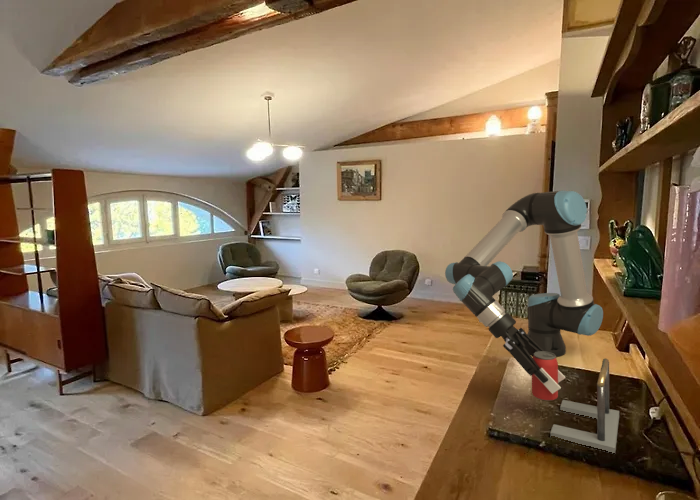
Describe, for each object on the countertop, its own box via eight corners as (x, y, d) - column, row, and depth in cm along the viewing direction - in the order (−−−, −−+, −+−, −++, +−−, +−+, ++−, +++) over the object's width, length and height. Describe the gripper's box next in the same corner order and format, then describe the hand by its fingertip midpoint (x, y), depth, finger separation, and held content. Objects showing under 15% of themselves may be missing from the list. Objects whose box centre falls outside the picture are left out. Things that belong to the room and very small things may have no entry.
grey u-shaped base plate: (563, 404, 121) (562, 399, 121) (619, 416, 113) (619, 410, 113) (550, 437, 105) (550, 432, 105) (615, 453, 97) (615, 448, 97)
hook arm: (602, 415, 114) (602, 357, 112) (609, 416, 113) (609, 358, 111) (597, 445, 101) (596, 380, 99) (604, 447, 100) (604, 382, 98)
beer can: (559, 403, 109) (559, 360, 108) (532, 400, 112) (532, 358, 110) (556, 392, 115) (556, 351, 114) (531, 389, 118) (530, 349, 116)
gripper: (497, 319, 128) (555, 379, 120) (476, 337, 113) (541, 407, 105) (515, 304, 125) (575, 365, 117) (495, 321, 109) (563, 392, 101)
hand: (559, 385), depth 111 cm, fingers closed on beer can, 7 cm apart
